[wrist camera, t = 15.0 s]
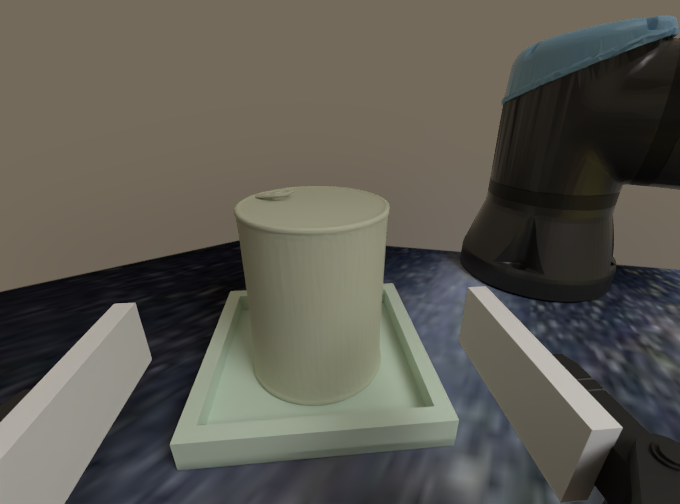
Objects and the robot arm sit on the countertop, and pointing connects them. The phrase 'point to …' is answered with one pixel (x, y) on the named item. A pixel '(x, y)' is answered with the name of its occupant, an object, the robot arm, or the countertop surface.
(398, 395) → the tray
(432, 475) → the countertop surface
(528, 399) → the robot arm
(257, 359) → the can
